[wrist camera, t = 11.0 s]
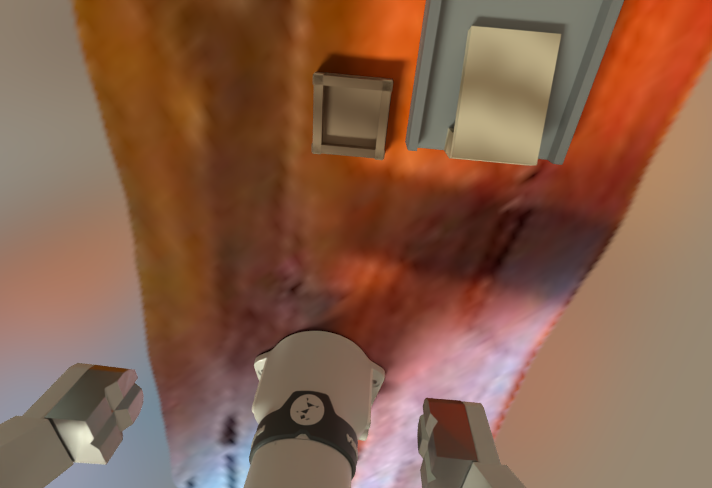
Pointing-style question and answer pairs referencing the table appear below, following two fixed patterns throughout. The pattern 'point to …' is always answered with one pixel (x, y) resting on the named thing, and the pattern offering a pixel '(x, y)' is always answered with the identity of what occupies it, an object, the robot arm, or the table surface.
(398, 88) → the table surface
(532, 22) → the grey railed platform
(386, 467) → the table surface
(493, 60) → the ramp
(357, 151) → the brown square wooden tray
